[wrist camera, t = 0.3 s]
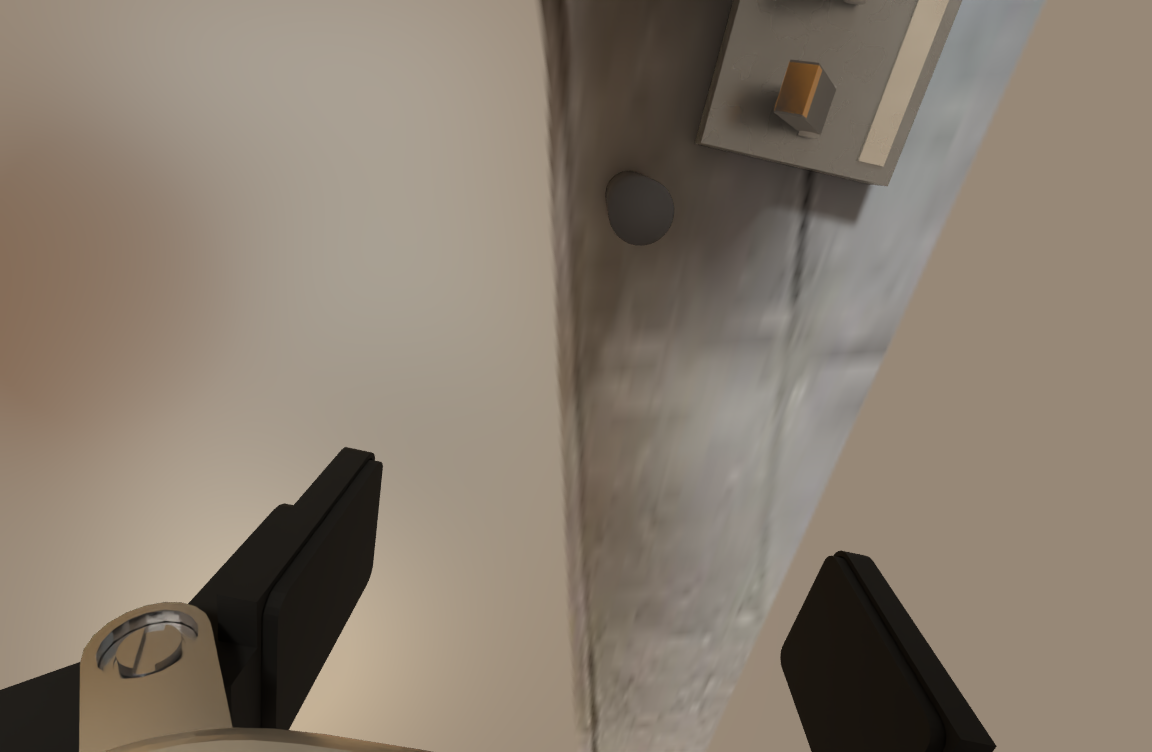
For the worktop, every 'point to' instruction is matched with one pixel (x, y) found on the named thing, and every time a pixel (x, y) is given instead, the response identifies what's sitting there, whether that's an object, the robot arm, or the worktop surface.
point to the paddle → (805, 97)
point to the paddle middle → (855, 2)
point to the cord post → (638, 208)
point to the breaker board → (852, 62)
